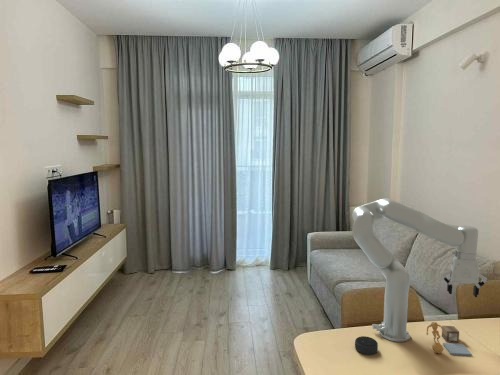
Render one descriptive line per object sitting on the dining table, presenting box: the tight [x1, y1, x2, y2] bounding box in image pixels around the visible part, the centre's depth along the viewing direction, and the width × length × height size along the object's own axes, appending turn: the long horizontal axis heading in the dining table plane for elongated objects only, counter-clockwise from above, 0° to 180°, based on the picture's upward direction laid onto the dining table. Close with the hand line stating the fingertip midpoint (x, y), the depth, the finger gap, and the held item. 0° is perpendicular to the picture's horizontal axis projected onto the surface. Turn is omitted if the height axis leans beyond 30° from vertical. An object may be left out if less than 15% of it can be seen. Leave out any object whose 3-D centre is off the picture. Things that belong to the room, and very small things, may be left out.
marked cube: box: [441, 325, 460, 344], centre depth 160 cm, size 5×5×5 cm
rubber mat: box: [442, 342, 473, 357], centre depth 152 cm, size 8×8×1 cm
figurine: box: [426, 321, 445, 354], centre depth 150 cm, size 8×6×12 cm
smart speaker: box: [354, 336, 379, 356], centre depth 152 cm, size 9×9×4 cm
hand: (462, 294), depth 159 cm, fingers open, 9 cm apart
